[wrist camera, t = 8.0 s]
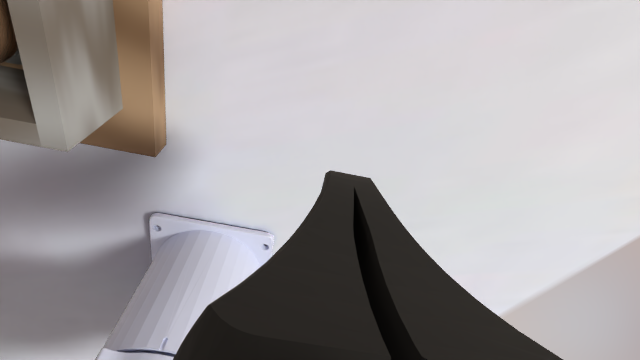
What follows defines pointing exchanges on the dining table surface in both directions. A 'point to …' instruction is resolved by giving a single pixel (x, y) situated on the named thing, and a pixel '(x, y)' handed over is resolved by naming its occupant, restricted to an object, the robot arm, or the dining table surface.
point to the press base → (86, 75)
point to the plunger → (7, 37)
